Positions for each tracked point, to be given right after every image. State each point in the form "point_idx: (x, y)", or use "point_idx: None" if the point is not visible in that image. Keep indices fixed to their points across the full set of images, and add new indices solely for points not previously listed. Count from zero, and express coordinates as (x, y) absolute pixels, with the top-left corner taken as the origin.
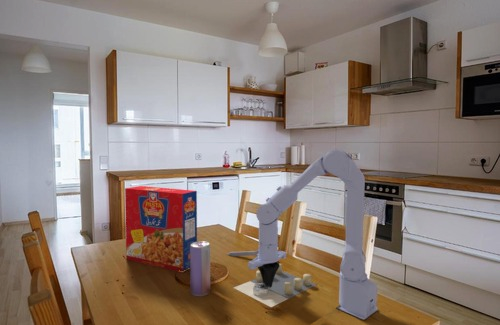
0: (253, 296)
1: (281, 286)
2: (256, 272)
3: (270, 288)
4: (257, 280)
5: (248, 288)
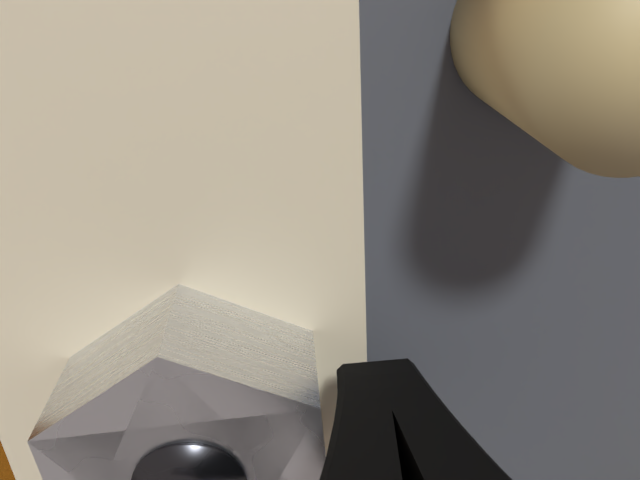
0: (28, 418)
1: (595, 412)
2: (541, 27)
3: (423, 373)
4: (460, 48)
5: (108, 160)
